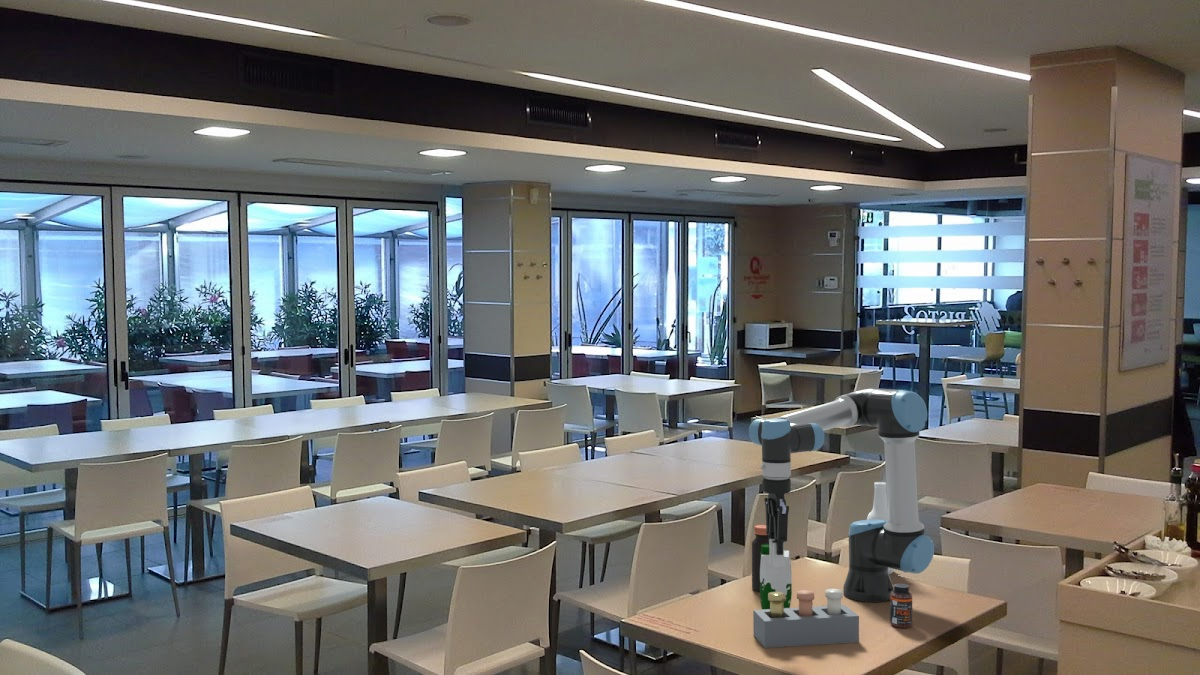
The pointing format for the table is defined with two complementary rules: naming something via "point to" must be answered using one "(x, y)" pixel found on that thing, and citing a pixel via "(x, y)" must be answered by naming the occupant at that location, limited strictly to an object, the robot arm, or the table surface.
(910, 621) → the supplement bottle
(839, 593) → the white rounded piece
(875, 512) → the alcohol
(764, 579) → the milk carton
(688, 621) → the table surface
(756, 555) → the vinegar
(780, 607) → the brass plunger
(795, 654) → the table surface
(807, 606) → the pink rounded piece
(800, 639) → the block
